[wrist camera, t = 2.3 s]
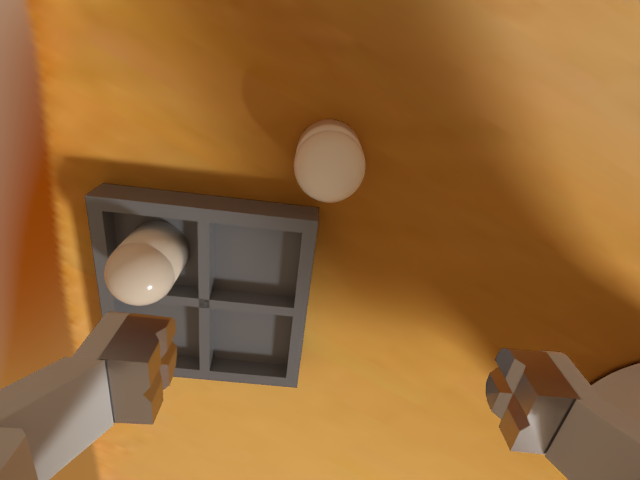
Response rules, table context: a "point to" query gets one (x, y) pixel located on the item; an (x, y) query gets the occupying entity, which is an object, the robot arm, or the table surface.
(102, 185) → the carton
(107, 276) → the resting egg
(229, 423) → the table surface
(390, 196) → the table surface
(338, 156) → the egg
